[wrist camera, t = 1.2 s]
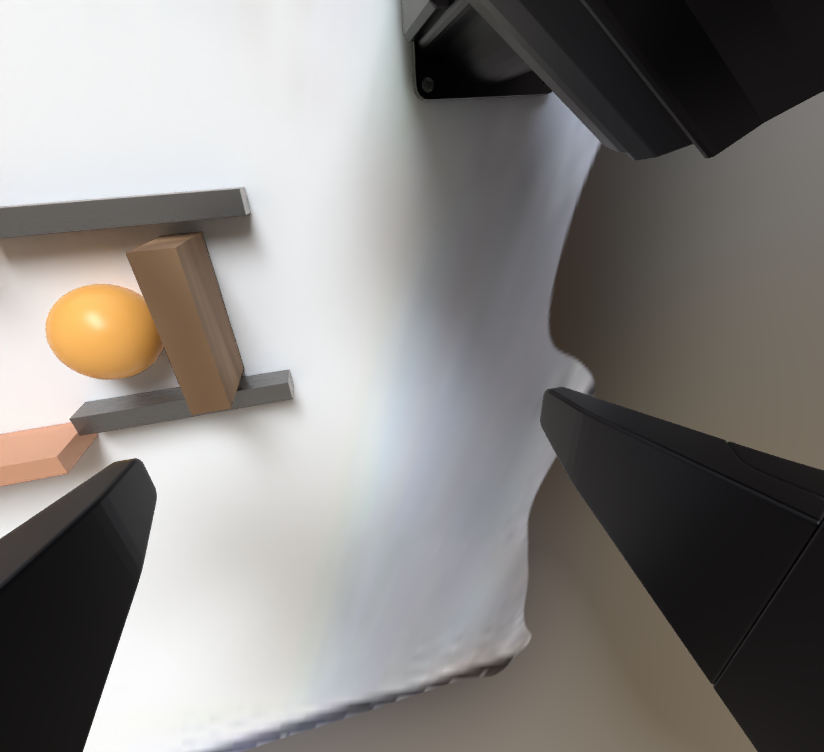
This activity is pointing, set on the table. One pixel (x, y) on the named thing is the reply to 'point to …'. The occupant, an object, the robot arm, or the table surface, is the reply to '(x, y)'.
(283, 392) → the track
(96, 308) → the ball
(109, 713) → the table surface
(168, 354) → the brown wooden block
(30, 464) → the pocket
